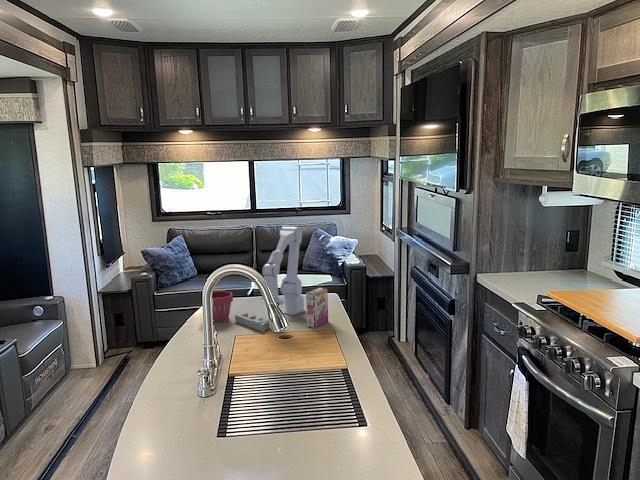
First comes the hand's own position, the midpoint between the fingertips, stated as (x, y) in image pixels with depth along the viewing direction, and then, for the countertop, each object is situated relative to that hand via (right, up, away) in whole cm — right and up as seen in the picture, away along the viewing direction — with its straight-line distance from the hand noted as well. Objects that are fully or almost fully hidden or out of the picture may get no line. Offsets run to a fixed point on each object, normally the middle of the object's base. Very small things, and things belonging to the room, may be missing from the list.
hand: (273, 316), depth 226 cm
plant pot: (-28, -3, +11) cm, 30 cm away
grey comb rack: (-9, -4, 0) cm, 10 cm away
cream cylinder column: (-1, -4, -1) cm, 4 cm away
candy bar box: (+21, -4, -2) cm, 22 cm away
